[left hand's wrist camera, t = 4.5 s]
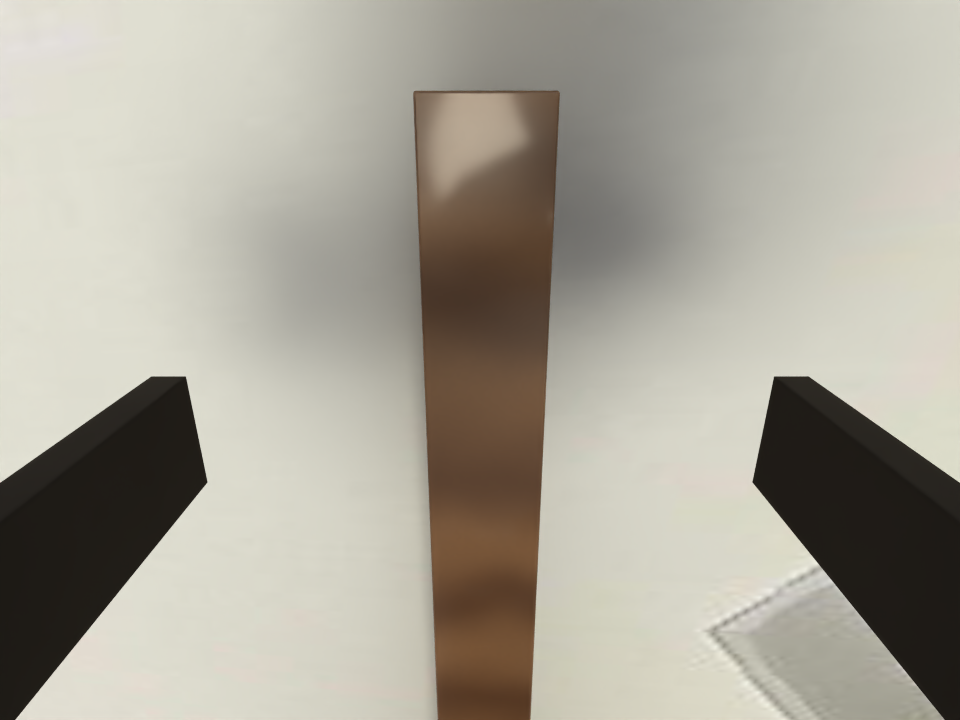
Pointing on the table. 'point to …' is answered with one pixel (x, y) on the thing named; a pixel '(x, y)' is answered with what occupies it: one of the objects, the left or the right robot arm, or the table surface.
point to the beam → (485, 381)
